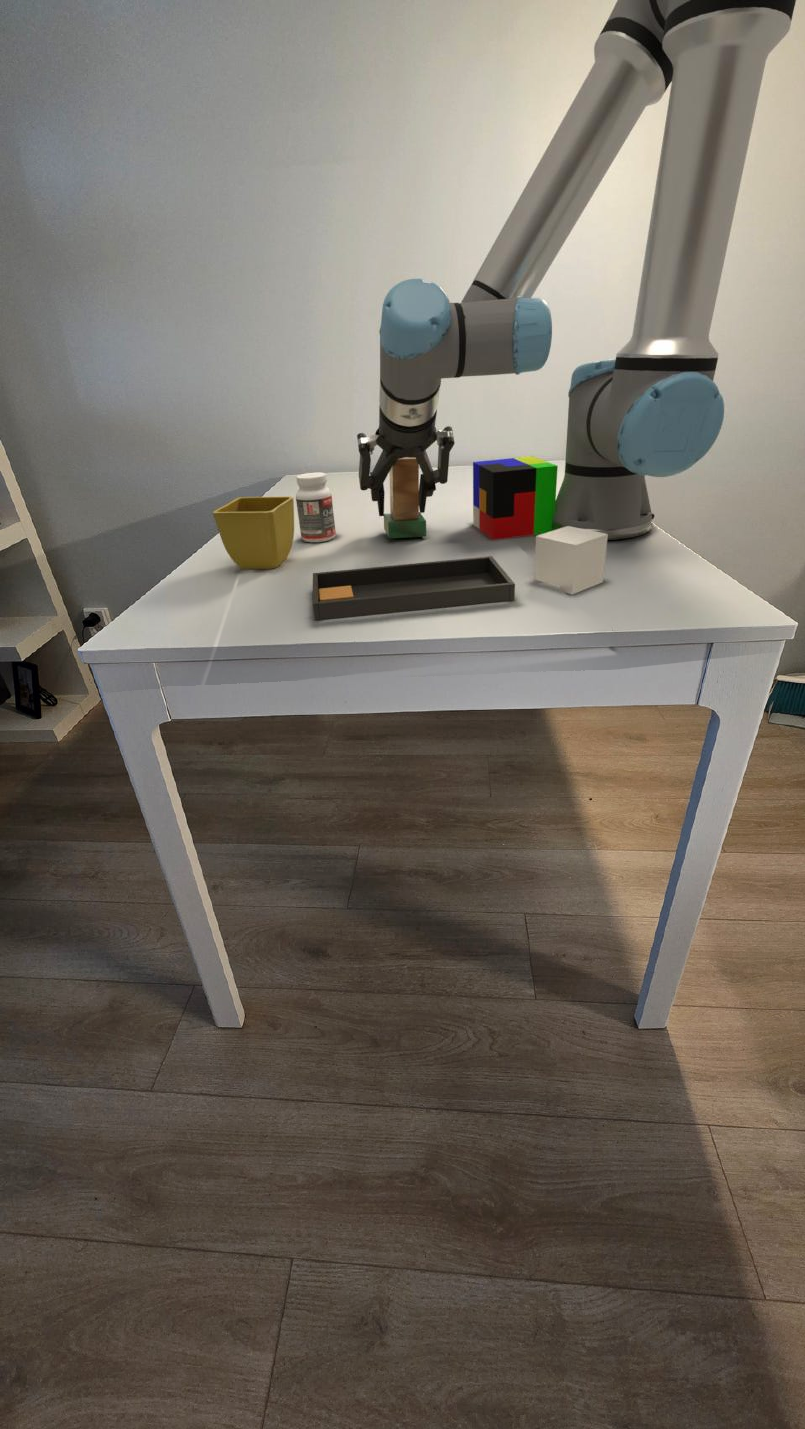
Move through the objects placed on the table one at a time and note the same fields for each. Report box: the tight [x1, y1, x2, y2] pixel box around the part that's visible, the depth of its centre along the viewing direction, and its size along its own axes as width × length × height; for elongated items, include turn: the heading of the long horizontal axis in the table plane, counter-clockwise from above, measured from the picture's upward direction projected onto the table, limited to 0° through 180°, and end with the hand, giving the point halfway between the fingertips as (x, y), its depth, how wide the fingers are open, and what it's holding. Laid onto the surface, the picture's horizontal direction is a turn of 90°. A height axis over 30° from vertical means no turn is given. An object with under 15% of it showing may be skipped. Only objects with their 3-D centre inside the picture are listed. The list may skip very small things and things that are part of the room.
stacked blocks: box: [383, 457, 427, 539], centre depth 101 cm, size 6×6×12 cm
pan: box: [312, 555, 516, 622], centre depth 78 cm, size 23×11×3 cm, turn 97°
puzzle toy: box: [472, 455, 559, 541], centre depth 101 cm, size 10×10×10 cm
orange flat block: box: [319, 586, 354, 602], centre depth 77 cm, size 4×4×1 cm
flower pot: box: [212, 496, 295, 570], centre depth 92 cm, size 9×9×9 cm
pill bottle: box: [295, 471, 337, 543], centre depth 103 cm, size 6×6×10 cm
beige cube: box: [533, 526, 608, 596], centre depth 79 cm, size 6×6×6 cm
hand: (400, 507), depth 105 cm, fingers closed on stacked blocks, 6 cm apart
